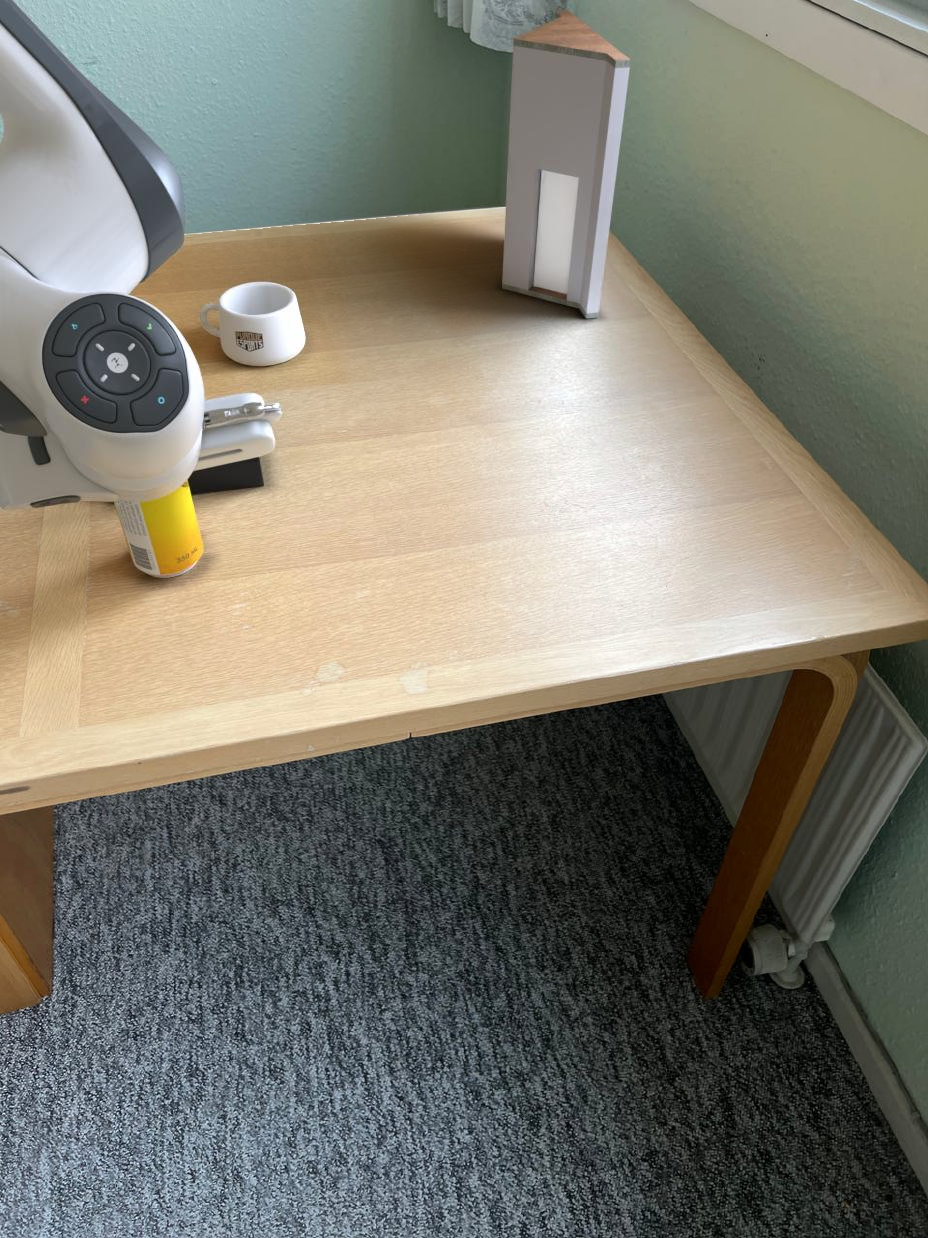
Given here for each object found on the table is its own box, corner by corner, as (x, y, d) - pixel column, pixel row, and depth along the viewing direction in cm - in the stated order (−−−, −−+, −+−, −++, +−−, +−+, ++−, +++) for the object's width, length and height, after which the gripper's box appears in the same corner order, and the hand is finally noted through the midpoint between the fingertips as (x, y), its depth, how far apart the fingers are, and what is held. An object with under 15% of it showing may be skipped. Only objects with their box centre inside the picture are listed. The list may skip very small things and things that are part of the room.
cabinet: (598, 317, 114) (630, 59, 94) (523, 324, 112) (540, 64, 92) (548, 246, 128) (567, 10, 108) (481, 252, 126) (488, 13, 106)
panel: (113, 504, 86) (104, 477, 84) (116, 444, 93) (108, 417, 91) (264, 485, 89) (259, 458, 86) (256, 428, 96) (252, 401, 93)
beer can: (217, 545, 82) (184, 398, 72) (182, 588, 78) (141, 441, 68) (158, 530, 84) (117, 384, 73) (120, 572, 80) (70, 424, 69)
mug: (315, 330, 110) (309, 282, 106) (294, 372, 103) (288, 322, 99) (217, 322, 111) (208, 274, 107) (191, 363, 104) (180, 313, 100)
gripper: (272, 358, 64) (257, 407, 78) (-44, 417, 58) (-2, 460, 72) (297, 446, 65) (277, 480, 78) (-15, 513, 59) (21, 538, 72)
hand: (141, 471), depth 75 cm, fingers open, 8 cm apart
